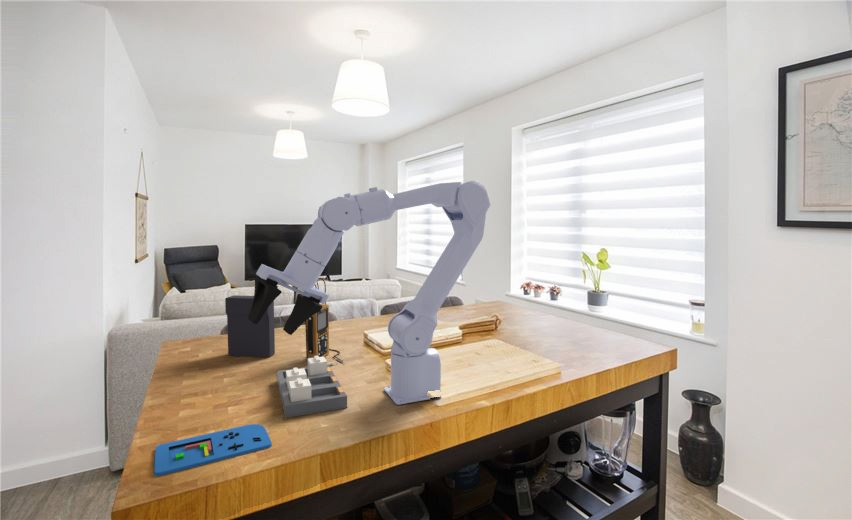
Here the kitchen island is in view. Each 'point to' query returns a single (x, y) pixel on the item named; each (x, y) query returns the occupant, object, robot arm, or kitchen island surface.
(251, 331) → the dark gray lidded box
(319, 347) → the multimeter
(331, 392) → the switch bank
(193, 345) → the kitchen island surface
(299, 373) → the tab
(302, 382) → the tab
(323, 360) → the tab
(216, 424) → the kitchen island surface
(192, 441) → the handheld gaming device
